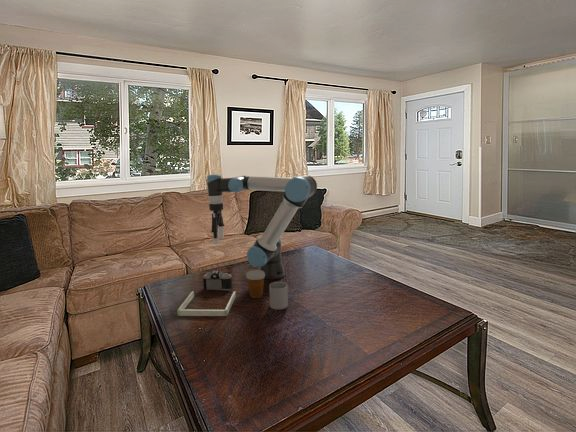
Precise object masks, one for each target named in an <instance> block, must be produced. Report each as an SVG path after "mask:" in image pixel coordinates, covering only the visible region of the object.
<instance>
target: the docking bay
mask: <svg viewBox="0 0 576 432" xmlns="http://www.w3.org/2000/svg"><path fill="white" fill-rule="evenodd" d="M194 297H195V291H193V290H192V291H191V292H190V293H189V294H188V296H187V297H186V298H185V299H184V301H183V302H182V303H181V305H180V306H179V307H178V308H177V310H176V316H177V317H184V316H185V317H186V316H187V317H227V316H229V312H230V311H231V308H232V306H233V303H234V301H235V299H236V298H237V291H232V294H231V296H230V298H229V300H228V301H227V302H228V303H227V304H226V307H225V309H191V308H190V309H188V308H187V306H189V304H190V302H191V301H192V300H193V299H194ZM186 308H187V309H186Z"/></svg>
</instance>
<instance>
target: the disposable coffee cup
mask: <svg viewBox="0 0 576 432" xmlns="http://www.w3.org/2000/svg"><path fill="white" fill-rule="evenodd" d="M245 277H246V280H247V281H246V282H247V286H248V292H249V297H250V298H252V299H259V298H261V297H263V294H264V293H263V292H264V286H265V285H264V283H265V279H264V277H265V273H264V271H262V270H259V269H251V270H249V271H247V272H246V275H245Z"/></svg>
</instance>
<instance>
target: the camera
mask: <svg viewBox="0 0 576 432" xmlns="http://www.w3.org/2000/svg"><path fill="white" fill-rule="evenodd" d="M232 278H233V276H232V274H228V272H225V273H224V272H221V271H220V270H218V269H217V270H213V272H210V271H209V272H206V273H205V274H204V275H203V279H202V280H203V289H204V290H207V291H208V290H213V291H231V290H232V288H233V285H232V284H233V283H232Z"/></svg>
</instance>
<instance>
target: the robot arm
mask: <svg viewBox="0 0 576 432" xmlns="http://www.w3.org/2000/svg"><path fill="white" fill-rule="evenodd" d="M206 182H207V183H206V184H207V186H206V187H207V193H208V197H207V200H208V203H209V204H208V207H209V211H210V212H213V213H211V230H210V232H211V233H212V239H213V245H219V244H220V239H224V238H225V236H224V234H225V233H224V227H225V223H224V217H223V213H222V211H223V210H224V203H223V202H224V199H223V193H240V192H241V191H242V190H244V191H245V190H246V191H263V192H264V191H267V192H282V193H283V194H282V198H283V200H282V202H281V204H279V207H278V209H277V210H276V212H275V213H274V216H272V218H271V221H270V222H269V224H268V225H267V227H266V229H265V231H264V232H263V233H262V235H261V236H258V237H257V238H256V240H255V242H254V243H253V245H252V246H250V247H249V248H248V250H247V252H246V258H247V261H248V263H249V264H250V265H251V266H253V267H255V268H258V270H262V271H264V273H265V277H264V280H278V279H281V278H283V277H285V275H286V274H285V269H284V265H283V263H282V240H281V237H282V236H283V234H284V232H285V231H286V229H287V227H288V226H289V224H290V223H291V221H292V219H293V217H294V216H295V214H296V213H297V211H298V209H302V208H303V207H304V206H305V204H306V202H307V201H308V199H309V198H311V197H313V195H315V194H316V192H317V189H318V182H317V181H316V179H315V178H314V177H313V176H311V175H308V174H304V175H293V176H292V177H277V176H275V177H274V176H248V175H239V176H234V177H226V178H223V177H222V175H221V174H217V173H216V174H208V175H207V176H206Z"/></svg>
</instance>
